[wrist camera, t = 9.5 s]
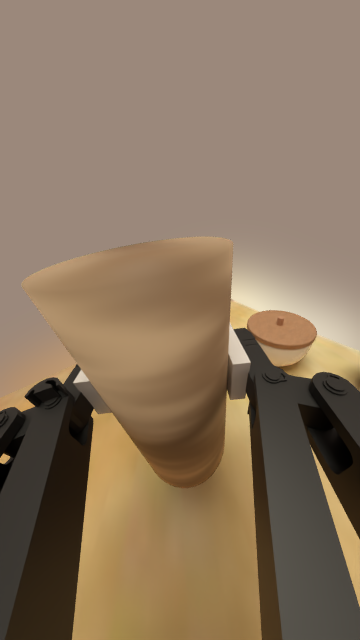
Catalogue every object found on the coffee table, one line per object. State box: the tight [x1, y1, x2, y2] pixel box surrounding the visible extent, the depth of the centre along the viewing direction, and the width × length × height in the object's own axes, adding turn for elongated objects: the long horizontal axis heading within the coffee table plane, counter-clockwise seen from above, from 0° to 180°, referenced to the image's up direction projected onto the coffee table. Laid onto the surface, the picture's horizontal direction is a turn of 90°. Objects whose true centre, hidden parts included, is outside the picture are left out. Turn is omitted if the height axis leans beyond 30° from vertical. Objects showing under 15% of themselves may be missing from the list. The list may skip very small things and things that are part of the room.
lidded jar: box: [247, 310, 317, 367], centre depth 30 cm, size 11×11×9 cm
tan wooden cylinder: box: [22, 237, 233, 488], centre depth 9 cm, size 6×6×14 cm
